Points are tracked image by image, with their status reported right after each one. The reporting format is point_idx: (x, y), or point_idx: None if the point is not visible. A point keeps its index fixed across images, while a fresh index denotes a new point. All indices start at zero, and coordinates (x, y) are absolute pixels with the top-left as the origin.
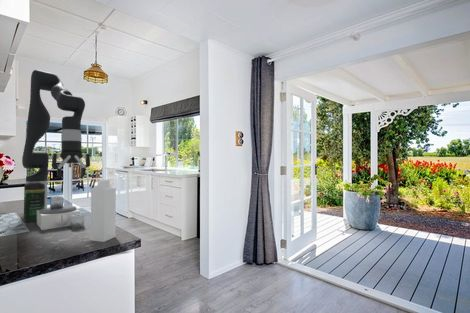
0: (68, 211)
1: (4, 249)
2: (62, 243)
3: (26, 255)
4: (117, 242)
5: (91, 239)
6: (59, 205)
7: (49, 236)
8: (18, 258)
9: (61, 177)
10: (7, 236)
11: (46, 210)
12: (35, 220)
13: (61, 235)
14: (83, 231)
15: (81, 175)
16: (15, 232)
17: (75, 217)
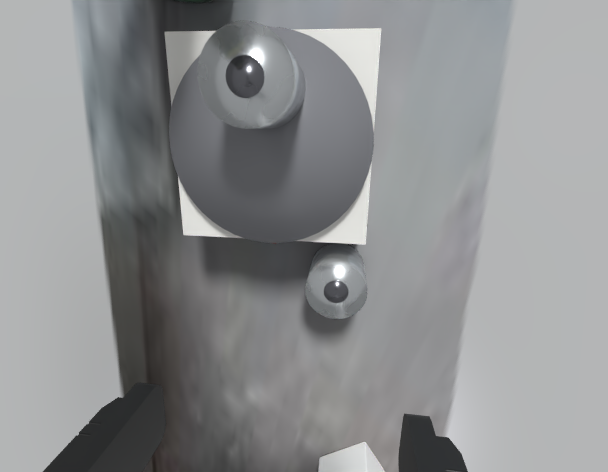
0: (306, 236)
1: (119, 372)
2: (249, 426)
3: (167, 452)
4: None
5: (320, 462)
6: (272, 127)
7: (227, 330)
8: (153, 459)
9: (162, 430)
10: (108, 227)
11: (204, 152)
12: (192, 1)
13: (261, 345)
14: (335, 349)
15: (405, 432)
16: (127, 181)
17: (320, 312)
